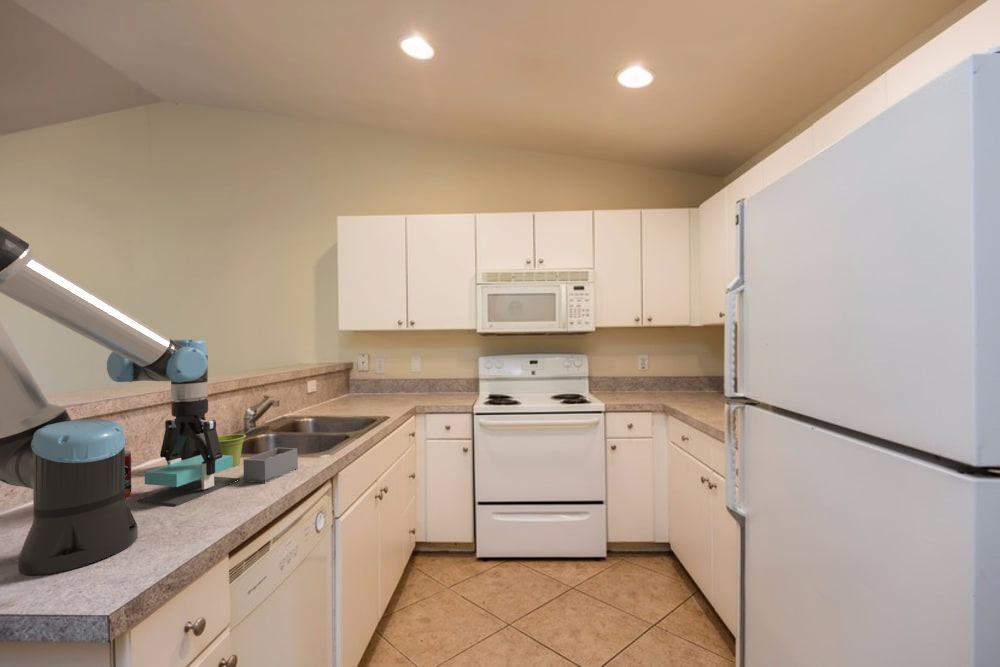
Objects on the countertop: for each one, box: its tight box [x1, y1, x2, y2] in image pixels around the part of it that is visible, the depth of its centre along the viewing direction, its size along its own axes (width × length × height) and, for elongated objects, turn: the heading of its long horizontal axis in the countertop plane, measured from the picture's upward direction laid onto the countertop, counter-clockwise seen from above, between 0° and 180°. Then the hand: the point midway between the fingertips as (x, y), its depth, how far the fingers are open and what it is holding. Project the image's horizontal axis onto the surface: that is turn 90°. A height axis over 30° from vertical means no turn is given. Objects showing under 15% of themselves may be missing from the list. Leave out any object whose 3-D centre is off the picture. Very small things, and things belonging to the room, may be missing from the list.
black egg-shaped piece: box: [164, 433, 201, 464], centre depth 123 cm, size 10×10×15 cm
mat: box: [136, 475, 240, 507], centre depth 103 cm, size 17×12×1 cm
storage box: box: [242, 447, 299, 483], centre depth 114 cm, size 7×12×6 cm, turn 166°
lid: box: [144, 455, 234, 488], centre depth 104 cm, size 10×15×3 cm, turn 166°
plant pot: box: [218, 433, 247, 467], centre depth 124 cm, size 9×9×9 cm
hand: (191, 485), depth 103 cm, fingers closed on lid, 10 cm apart
